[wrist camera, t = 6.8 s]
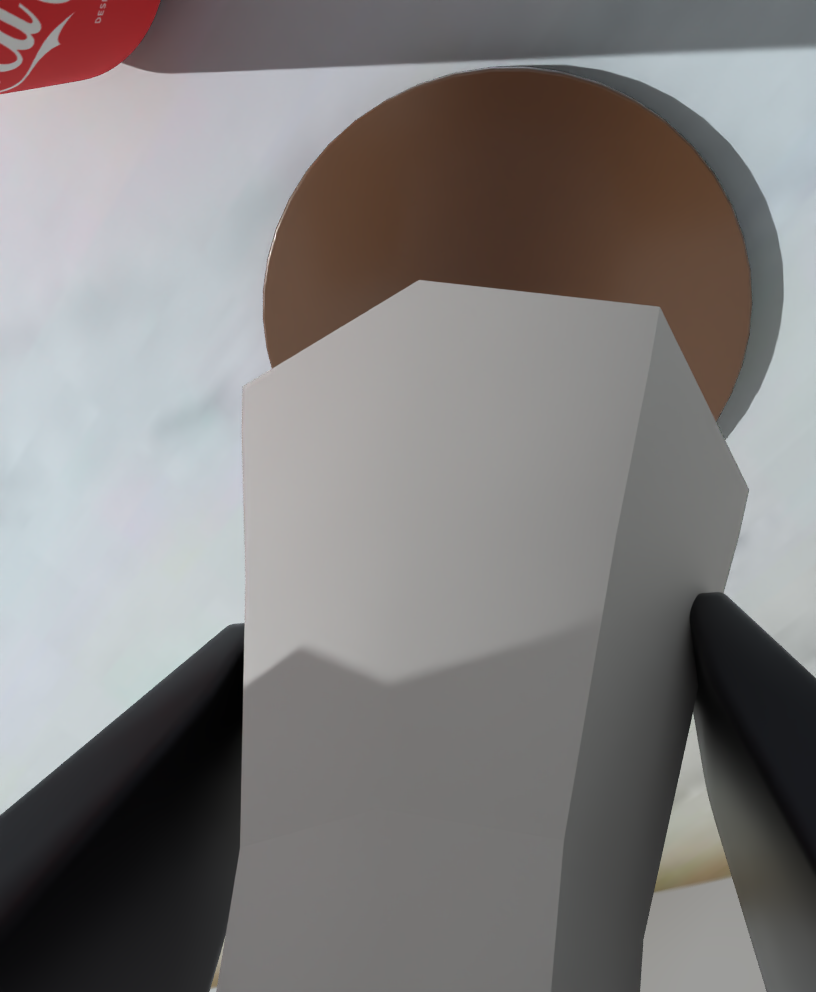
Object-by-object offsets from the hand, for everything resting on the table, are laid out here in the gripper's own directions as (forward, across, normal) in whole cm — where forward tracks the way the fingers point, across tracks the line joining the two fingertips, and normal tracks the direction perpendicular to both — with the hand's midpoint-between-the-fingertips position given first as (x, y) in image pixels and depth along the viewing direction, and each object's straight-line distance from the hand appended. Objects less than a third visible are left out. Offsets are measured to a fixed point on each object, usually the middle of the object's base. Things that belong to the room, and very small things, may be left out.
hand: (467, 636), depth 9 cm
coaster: (+10, 0, 0) cm, 11 cm away
